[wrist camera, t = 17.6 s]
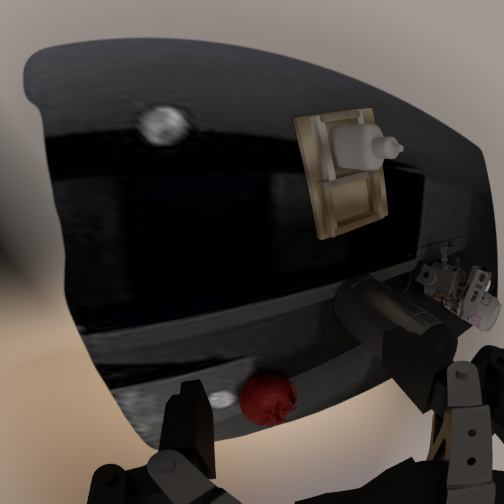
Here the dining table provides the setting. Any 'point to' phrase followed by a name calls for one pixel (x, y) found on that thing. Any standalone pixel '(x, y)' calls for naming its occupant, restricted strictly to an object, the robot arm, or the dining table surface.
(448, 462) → the robot arm
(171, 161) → the dining table surface
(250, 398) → the pomegranate
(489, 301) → the supplement can
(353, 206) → the wooden compartment tray
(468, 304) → the figurine
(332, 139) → the eye dropper bottle
